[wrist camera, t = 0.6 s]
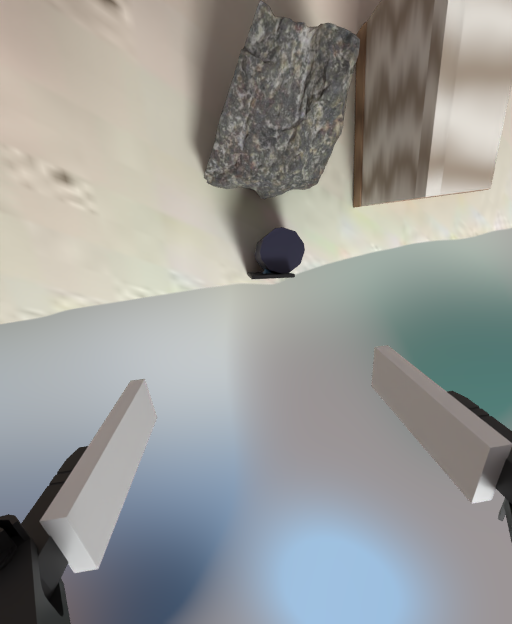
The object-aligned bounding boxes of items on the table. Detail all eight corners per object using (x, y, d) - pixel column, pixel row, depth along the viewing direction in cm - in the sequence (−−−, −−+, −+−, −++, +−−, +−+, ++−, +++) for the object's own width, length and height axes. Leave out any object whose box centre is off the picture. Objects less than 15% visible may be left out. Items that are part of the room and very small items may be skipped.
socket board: (356, 34, 30) (458, -123, 16) (507, 19, 31) (723, -142, 17) (353, 207, 37) (422, 197, 23) (475, 191, 38) (611, 172, 24)
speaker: (279, 285, 40) (293, 296, 30) (246, 274, 39) (249, 282, 29) (295, 240, 38) (315, 236, 28) (261, 228, 38) (270, 219, 28)
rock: (369, 47, 28) (248, -35, 23) (413, 72, 20) (247, -42, 16) (293, 192, 42) (208, 159, 37) (303, 240, 34) (197, 205, 30)
